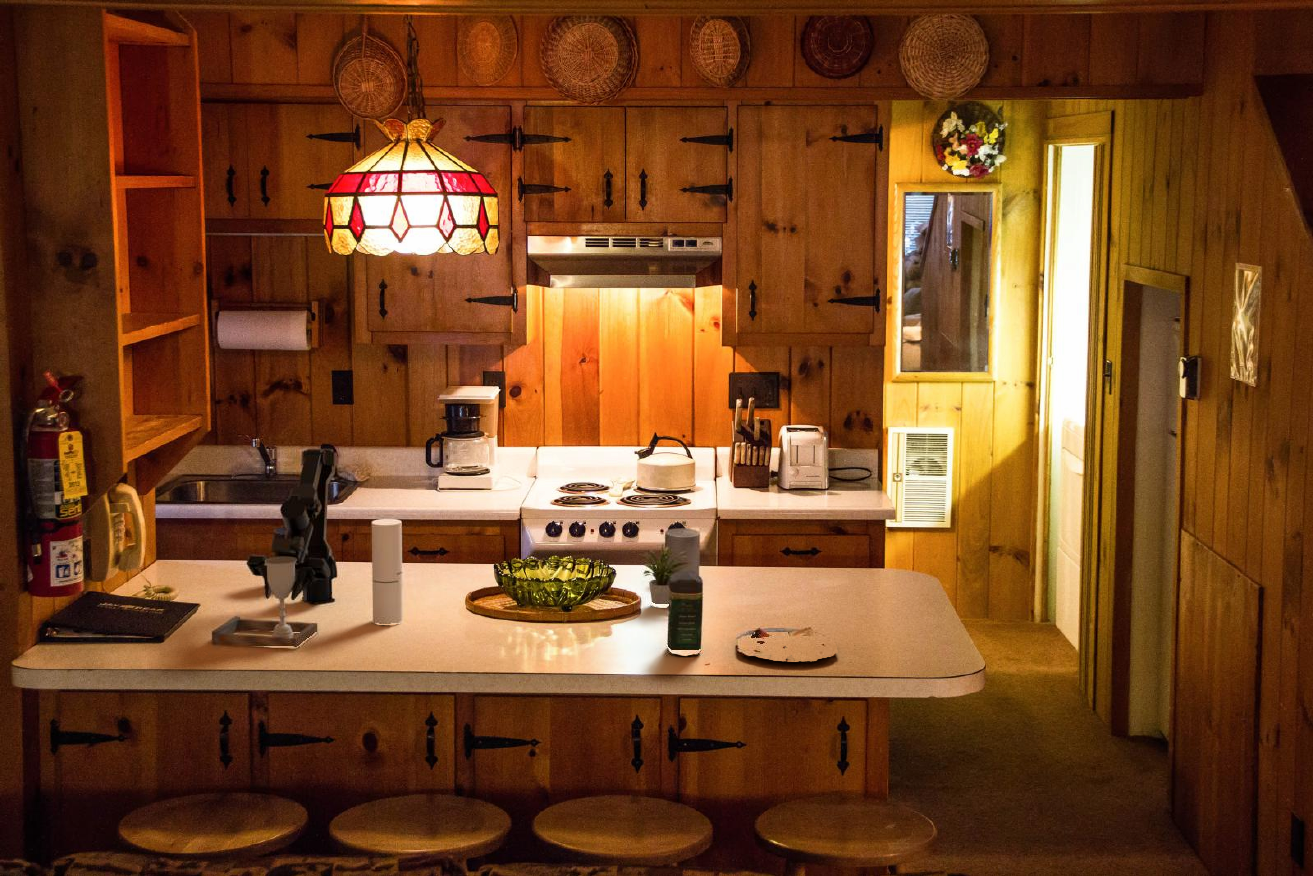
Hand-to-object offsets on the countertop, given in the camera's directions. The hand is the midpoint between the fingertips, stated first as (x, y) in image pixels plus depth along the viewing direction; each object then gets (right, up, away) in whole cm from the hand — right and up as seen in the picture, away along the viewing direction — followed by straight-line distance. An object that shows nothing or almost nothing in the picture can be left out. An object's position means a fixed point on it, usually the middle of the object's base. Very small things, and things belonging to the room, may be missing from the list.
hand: (279, 598), depth 338 cm
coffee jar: (+94, -12, 0) cm, 95 cm away
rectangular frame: (-4, -10, +3) cm, 11 cm away
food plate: (+118, -13, +2) cm, 118 cm away
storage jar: (-9, -2, +51) cm, 52 cm away
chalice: (0, -9, +3) cm, 9 cm away
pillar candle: (+94, -2, +63) cm, 114 cm away
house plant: (+88, -6, +37) cm, 96 cm away
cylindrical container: (+22, -8, +19) cm, 30 cm away
